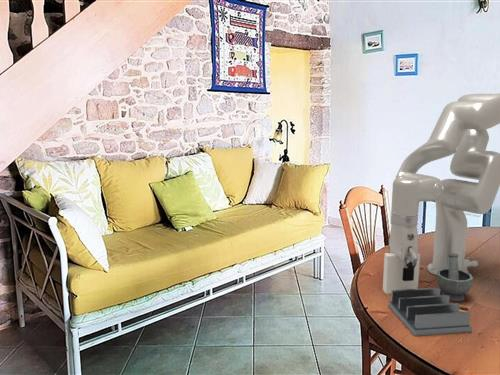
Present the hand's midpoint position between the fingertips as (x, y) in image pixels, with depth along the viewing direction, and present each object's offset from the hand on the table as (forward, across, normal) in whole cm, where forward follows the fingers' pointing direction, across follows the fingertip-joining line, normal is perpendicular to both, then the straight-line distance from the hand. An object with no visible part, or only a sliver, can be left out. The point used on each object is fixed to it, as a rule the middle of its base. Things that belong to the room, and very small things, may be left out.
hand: (400, 274), depth 134 cm
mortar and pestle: (+6, -5, -14) cm, 16 cm away
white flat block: (+6, 0, 0) cm, 6 cm away
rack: (+6, -17, 0) cm, 18 cm away
